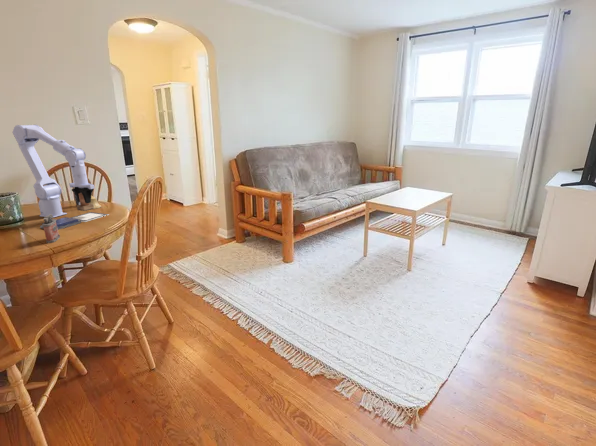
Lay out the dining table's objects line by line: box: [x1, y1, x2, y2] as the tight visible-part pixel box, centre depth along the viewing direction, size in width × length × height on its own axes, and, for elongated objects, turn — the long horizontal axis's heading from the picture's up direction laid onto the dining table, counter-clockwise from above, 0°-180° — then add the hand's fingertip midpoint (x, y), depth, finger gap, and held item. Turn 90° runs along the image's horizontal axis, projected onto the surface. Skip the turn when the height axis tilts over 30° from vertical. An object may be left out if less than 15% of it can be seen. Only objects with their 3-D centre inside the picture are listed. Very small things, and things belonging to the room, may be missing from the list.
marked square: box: [70, 211, 110, 223], centre depth 166 cm, size 13×13×1 cm
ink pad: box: [39, 216, 82, 231], centre depth 153 cm, size 10×12×2 cm
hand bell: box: [87, 178, 102, 210], centre depth 181 cm, size 8×8×16 cm
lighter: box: [41, 214, 61, 244], centre depth 134 cm, size 8×3×10 cm, turn 17°
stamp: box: [76, 193, 95, 212], centre depth 163 cm, size 5×5×8 cm
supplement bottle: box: [73, 192, 80, 206], centre depth 186 cm, size 6×6×11 cm
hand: (85, 202), depth 164 cm, fingers closed on stamp, 4 cm apart
